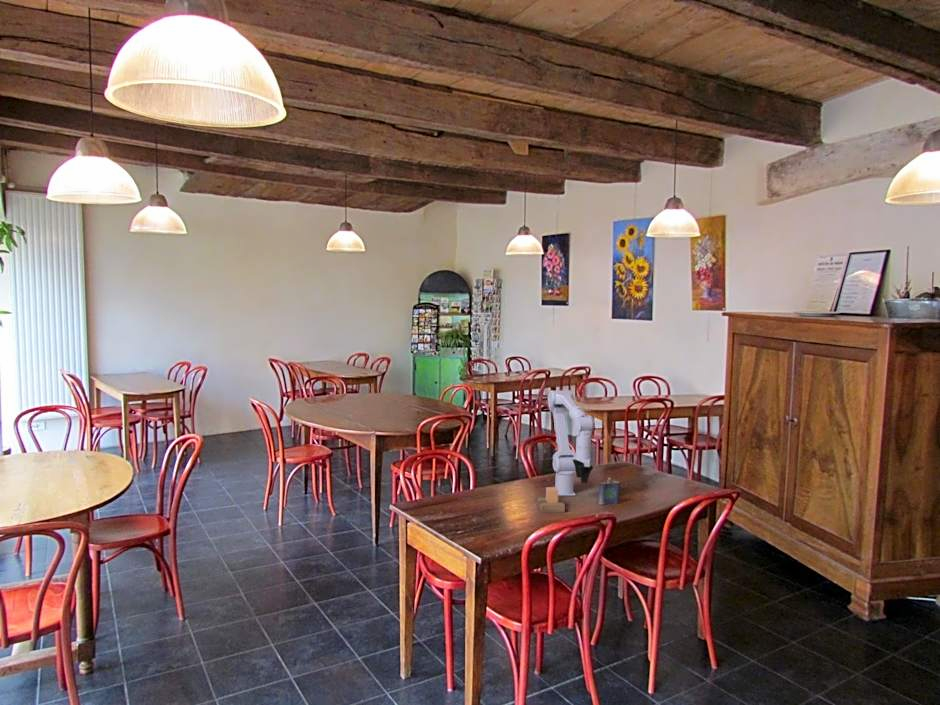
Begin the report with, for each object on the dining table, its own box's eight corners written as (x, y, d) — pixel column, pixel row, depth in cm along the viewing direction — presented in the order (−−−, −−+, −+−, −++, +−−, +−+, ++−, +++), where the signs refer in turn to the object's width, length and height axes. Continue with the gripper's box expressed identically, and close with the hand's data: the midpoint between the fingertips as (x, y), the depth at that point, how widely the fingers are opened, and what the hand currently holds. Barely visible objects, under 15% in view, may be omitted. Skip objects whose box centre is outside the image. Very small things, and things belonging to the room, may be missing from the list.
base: (537, 504, 258) (537, 497, 257) (559, 504, 258) (559, 497, 258) (541, 512, 249) (541, 504, 248) (564, 512, 249) (564, 504, 249)
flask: (600, 505, 259) (601, 479, 258) (596, 503, 261) (597, 477, 260) (620, 504, 262) (621, 478, 261) (616, 501, 264) (617, 476, 263)
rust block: (545, 499, 255) (546, 487, 255) (555, 499, 255) (556, 487, 255) (547, 502, 251) (548, 490, 251) (557, 502, 251) (558, 490, 251)
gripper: (569, 442, 263) (567, 474, 264) (577, 450, 249) (576, 485, 250) (586, 442, 264) (584, 474, 265) (595, 450, 249) (594, 485, 251)
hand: (581, 479), depth 258 cm, fingers open, 7 cm apart
